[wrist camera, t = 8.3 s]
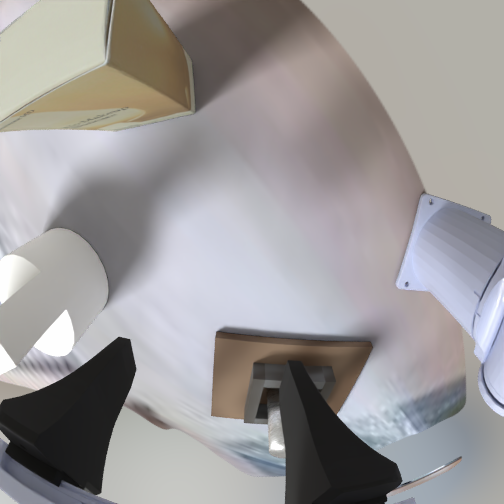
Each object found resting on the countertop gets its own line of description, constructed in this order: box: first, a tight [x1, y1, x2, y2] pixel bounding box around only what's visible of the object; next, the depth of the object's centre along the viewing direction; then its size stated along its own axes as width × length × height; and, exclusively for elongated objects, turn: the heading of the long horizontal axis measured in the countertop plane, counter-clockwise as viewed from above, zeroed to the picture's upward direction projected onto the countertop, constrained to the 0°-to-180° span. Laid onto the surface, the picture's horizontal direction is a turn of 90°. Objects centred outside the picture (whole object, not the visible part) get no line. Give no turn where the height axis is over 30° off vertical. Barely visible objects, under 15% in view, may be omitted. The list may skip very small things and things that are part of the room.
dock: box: [211, 332, 373, 424], centre depth 23 cm, size 14×12×3 cm
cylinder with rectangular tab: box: [0, 228, 109, 374], centre depth 15 cm, size 9×9×12 cm
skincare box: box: [0, 0, 195, 132], centre depth 10 cm, size 6×4×12 cm
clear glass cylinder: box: [267, 388, 286, 458], centre depth 21 cm, size 4×4×7 cm
